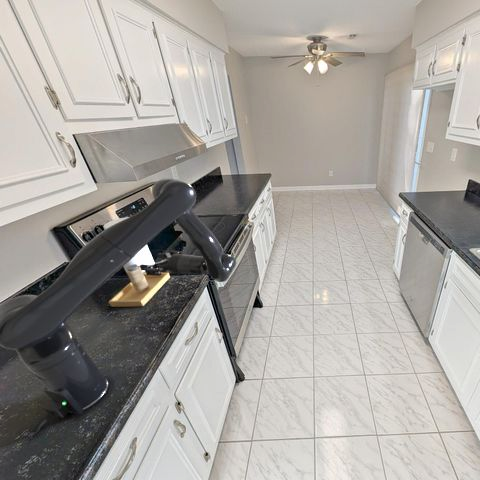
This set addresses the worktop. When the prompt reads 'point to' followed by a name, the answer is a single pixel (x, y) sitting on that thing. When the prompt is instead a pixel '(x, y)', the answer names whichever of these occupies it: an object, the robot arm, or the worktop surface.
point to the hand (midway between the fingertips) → (150, 261)
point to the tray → (133, 298)
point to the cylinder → (141, 256)
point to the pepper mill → (137, 278)
